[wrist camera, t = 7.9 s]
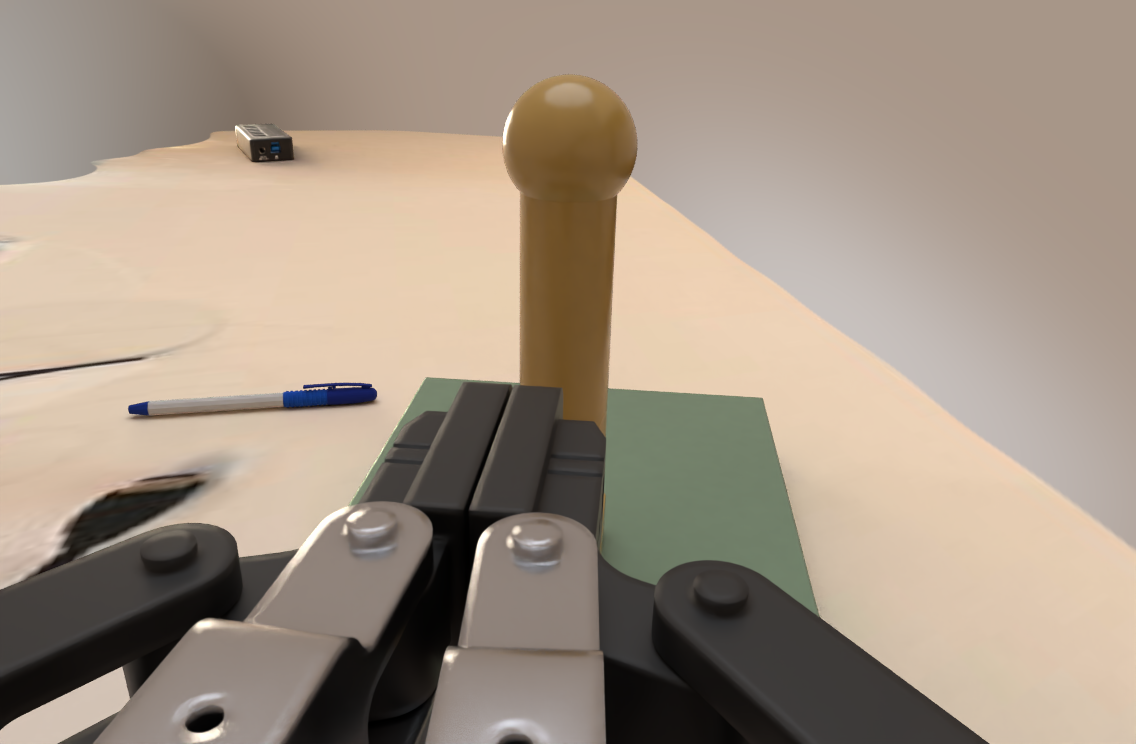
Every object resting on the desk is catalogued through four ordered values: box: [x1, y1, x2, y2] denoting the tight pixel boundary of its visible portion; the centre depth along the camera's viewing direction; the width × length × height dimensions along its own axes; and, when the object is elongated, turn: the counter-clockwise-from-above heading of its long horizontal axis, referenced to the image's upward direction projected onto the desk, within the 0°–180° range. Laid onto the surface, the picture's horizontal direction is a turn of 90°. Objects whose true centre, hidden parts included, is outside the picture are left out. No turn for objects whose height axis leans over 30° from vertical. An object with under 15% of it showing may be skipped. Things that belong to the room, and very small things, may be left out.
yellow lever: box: [502, 74, 637, 555], centre depth 19 cm, size 3×11×13 cm, turn 175°
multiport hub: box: [235, 124, 294, 162], centre depth 97 cm, size 4×11×2 cm, turn 27°
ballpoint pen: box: [128, 383, 377, 415], centre depth 39 cm, size 10×1×1 cm, turn 103°
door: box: [348, 377, 819, 617], centre depth 26 cm, size 14×22×5 cm, turn 175°
